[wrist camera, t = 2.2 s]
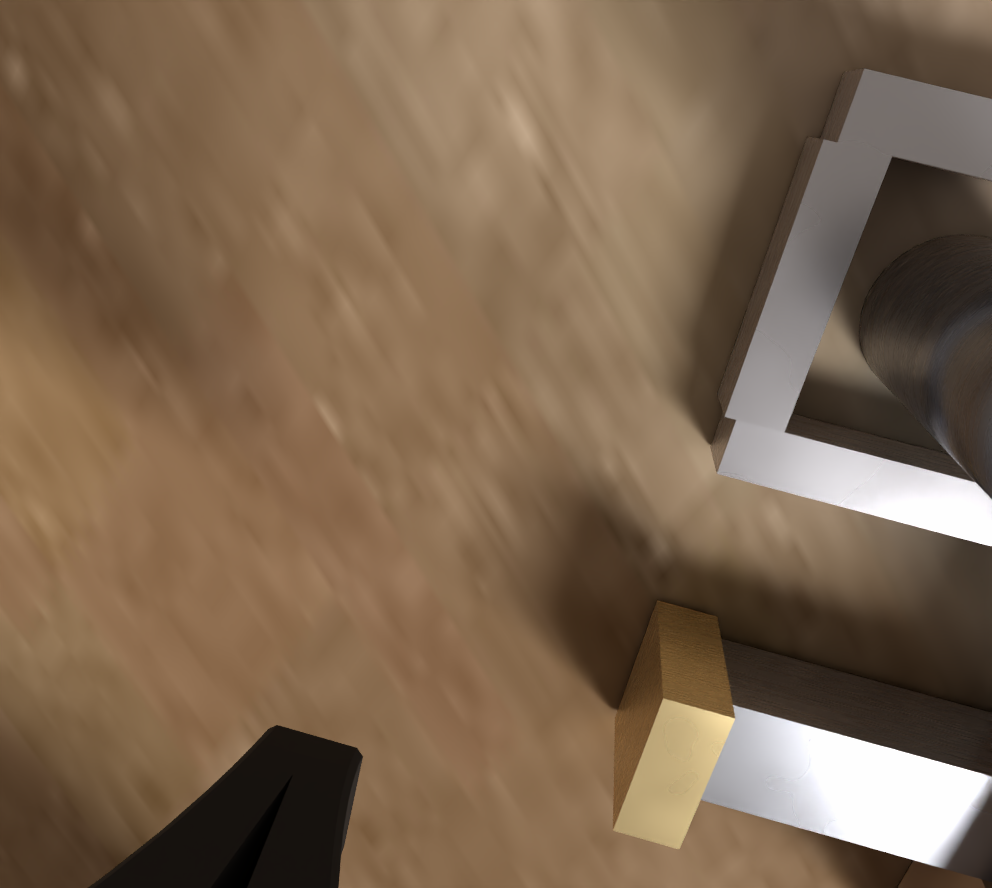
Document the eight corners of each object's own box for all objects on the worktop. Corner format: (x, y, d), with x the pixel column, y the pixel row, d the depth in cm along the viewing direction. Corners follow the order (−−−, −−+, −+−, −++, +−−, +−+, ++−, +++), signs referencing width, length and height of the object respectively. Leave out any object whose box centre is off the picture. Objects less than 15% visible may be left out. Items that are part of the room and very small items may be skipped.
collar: (699, 444, 15) (705, 470, 14) (830, 69, 13) (849, 65, 12) (1050, 537, 15) (1083, 571, 14) (1254, 170, 13) (1314, 176, 12)
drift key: (614, 718, 18) (613, 830, 15) (657, 599, 17) (662, 698, 14) (1052, 840, 17) (1133, 979, 15) (1128, 728, 16) (1230, 856, 13)
